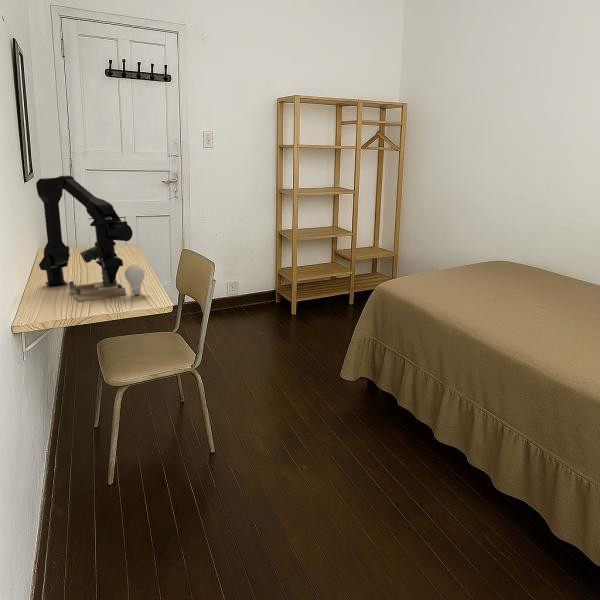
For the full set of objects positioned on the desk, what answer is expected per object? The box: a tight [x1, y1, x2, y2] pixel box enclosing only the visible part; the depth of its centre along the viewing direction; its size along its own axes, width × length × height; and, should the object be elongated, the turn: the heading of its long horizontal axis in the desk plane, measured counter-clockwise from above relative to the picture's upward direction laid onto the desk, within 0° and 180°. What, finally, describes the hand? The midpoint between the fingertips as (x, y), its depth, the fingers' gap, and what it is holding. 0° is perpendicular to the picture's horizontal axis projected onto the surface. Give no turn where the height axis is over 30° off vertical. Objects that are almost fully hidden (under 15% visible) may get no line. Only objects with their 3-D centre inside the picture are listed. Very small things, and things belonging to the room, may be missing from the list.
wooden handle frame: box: [68, 281, 127, 303], centre depth 188 cm, size 14×16×4 cm
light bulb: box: [124, 264, 146, 296], centre depth 185 cm, size 7×7×11 cm
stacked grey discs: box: [101, 268, 118, 287], centre depth 190 cm, size 5×5×6 cm
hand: (109, 282), depth 190 cm, fingers closed on stacked grey discs, 5 cm apart
